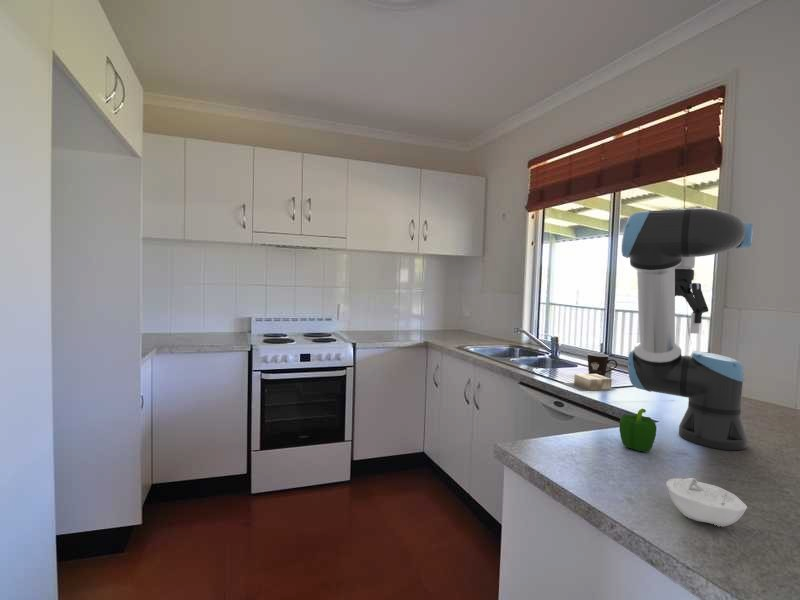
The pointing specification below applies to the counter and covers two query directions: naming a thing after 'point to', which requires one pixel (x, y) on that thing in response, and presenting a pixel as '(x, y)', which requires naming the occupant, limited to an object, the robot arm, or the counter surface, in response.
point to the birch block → (592, 381)
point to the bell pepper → (637, 431)
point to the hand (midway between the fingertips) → (676, 330)
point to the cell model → (705, 502)
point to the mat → (583, 388)
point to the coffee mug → (598, 363)
